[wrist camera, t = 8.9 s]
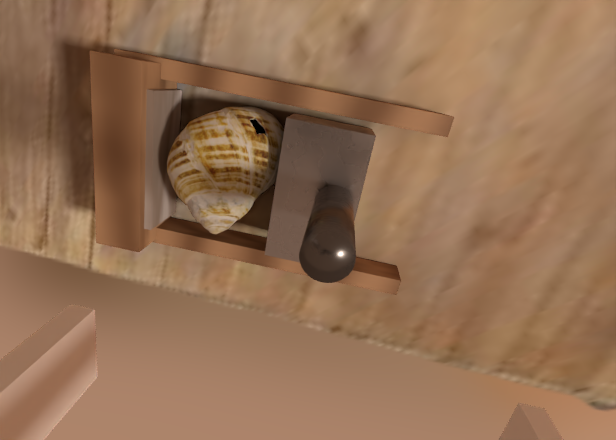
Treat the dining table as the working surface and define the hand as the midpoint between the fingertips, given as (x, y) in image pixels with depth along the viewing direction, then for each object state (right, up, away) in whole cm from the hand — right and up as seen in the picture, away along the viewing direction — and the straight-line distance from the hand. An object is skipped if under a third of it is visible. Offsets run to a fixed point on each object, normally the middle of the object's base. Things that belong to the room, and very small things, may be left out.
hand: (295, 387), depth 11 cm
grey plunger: (+2, +9, +23) cm, 25 cm away
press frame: (-3, +10, +23) cm, 25 cm away
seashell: (-6, +11, +24) cm, 27 cm away
